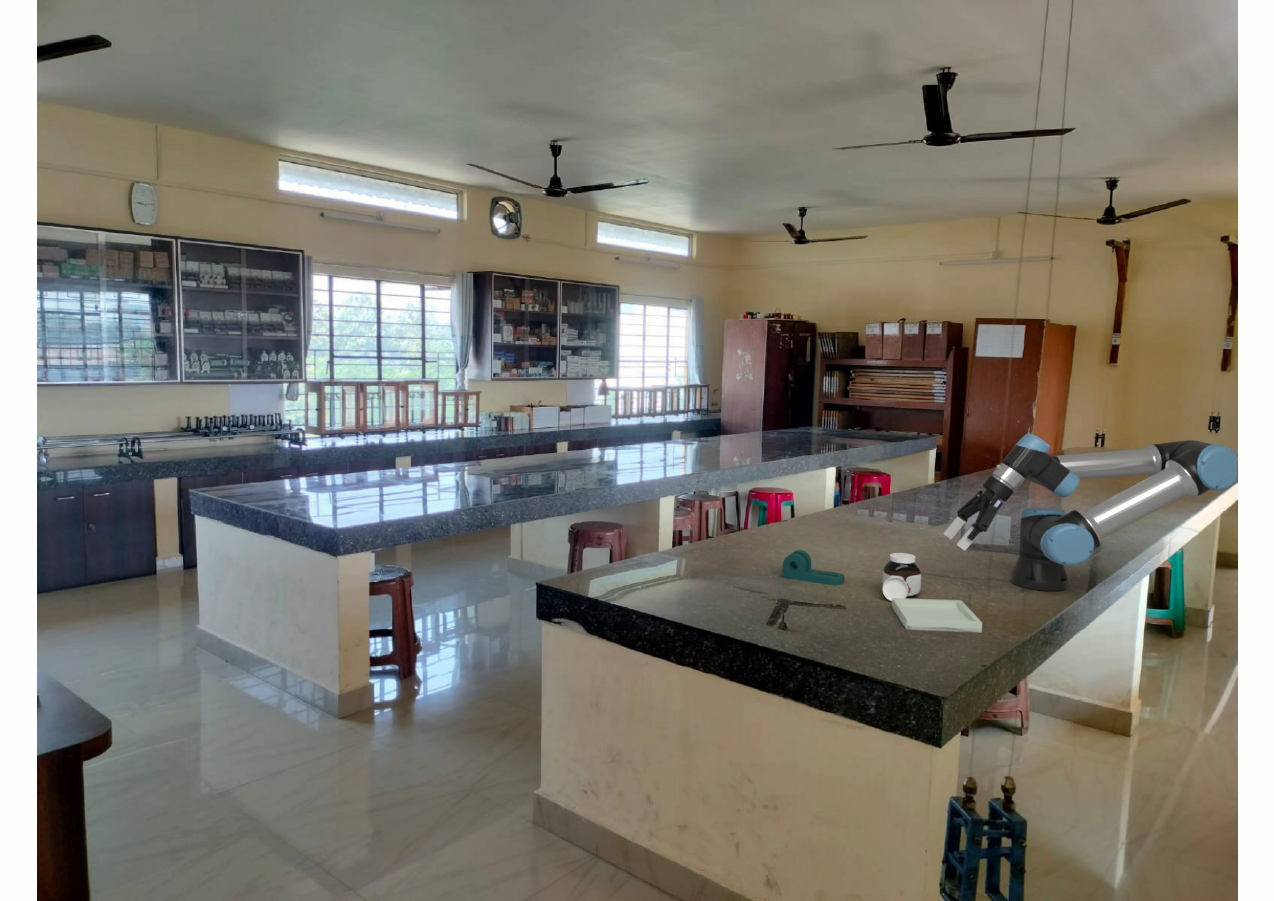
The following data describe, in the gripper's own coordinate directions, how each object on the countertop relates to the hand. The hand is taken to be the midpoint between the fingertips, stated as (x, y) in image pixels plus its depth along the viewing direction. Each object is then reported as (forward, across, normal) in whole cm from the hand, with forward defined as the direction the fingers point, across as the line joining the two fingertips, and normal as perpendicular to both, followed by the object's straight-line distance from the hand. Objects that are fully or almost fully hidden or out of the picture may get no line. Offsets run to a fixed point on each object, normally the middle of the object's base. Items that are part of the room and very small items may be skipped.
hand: (953, 542), depth 225 cm
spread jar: (+21, +5, -3) cm, 22 cm away
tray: (+18, +23, +1) cm, 29 cm away
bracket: (+34, -11, -21) cm, 42 cm away
